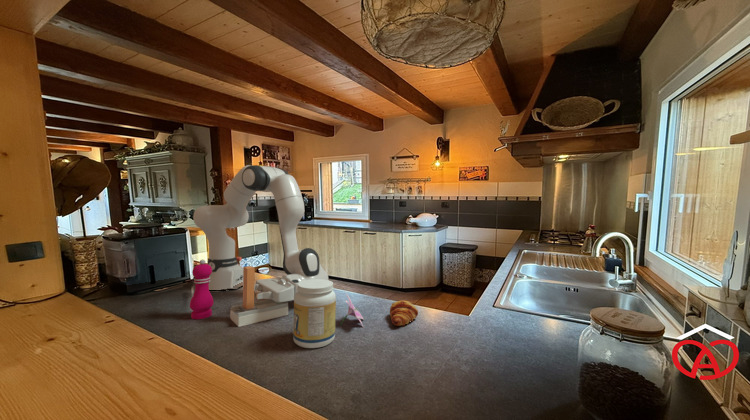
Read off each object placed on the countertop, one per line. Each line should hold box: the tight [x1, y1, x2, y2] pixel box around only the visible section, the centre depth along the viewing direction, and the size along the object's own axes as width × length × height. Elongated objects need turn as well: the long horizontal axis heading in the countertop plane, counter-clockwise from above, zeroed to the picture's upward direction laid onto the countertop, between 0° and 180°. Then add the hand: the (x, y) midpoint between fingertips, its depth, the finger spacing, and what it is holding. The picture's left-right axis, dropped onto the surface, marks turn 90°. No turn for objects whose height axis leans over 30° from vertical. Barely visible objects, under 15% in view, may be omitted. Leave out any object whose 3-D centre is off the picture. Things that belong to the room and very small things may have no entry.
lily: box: [340, 291, 365, 327], centre depth 98 cm, size 12×12×10 cm
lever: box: [239, 265, 257, 312], centre depth 100 cm, size 4×6×15 cm, turn 42°
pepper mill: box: [189, 259, 215, 320], centre depth 102 cm, size 7×7×20 cm
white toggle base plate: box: [229, 299, 289, 328], centre depth 103 cm, size 17×9×4 cm, turn 132°
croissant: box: [389, 299, 419, 326], centre depth 105 cm, size 21×10×8 cm, turn 163°
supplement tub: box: [292, 279, 337, 349], centre depth 86 cm, size 12×12×17 cm
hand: (251, 293), depth 101 cm, fingers open, 8 cm apart
